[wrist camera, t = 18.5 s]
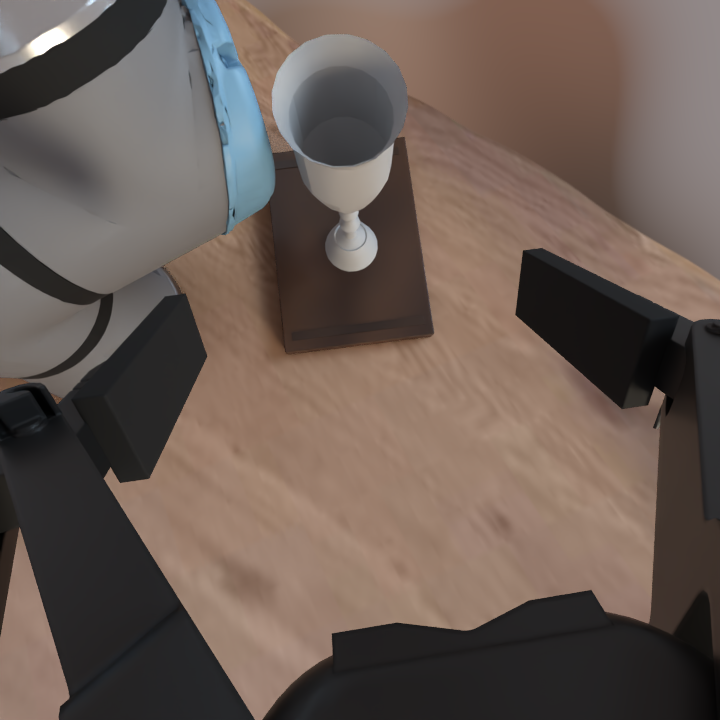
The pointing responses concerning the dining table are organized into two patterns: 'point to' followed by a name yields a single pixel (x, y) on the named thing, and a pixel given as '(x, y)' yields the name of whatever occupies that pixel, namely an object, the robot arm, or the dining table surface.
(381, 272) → the serving board
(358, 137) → the chalice
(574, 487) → the dining table surface
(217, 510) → the dining table surface
